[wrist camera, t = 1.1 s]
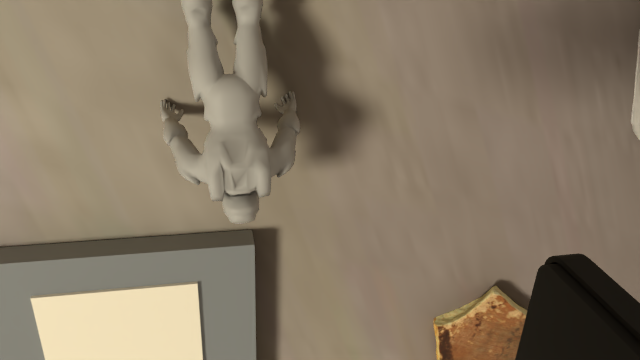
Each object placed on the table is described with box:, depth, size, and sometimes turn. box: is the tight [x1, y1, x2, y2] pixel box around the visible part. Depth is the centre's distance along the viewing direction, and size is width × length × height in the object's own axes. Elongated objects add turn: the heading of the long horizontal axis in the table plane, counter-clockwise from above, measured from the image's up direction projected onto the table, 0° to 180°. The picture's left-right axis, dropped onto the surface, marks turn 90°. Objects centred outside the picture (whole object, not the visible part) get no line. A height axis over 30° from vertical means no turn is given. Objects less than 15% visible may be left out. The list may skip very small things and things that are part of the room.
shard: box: [434, 286, 528, 360], centre depth 37 cm, size 11×8×2 cm
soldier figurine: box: [160, 0, 300, 224], centre depth 24 cm, size 6×5×12 cm
